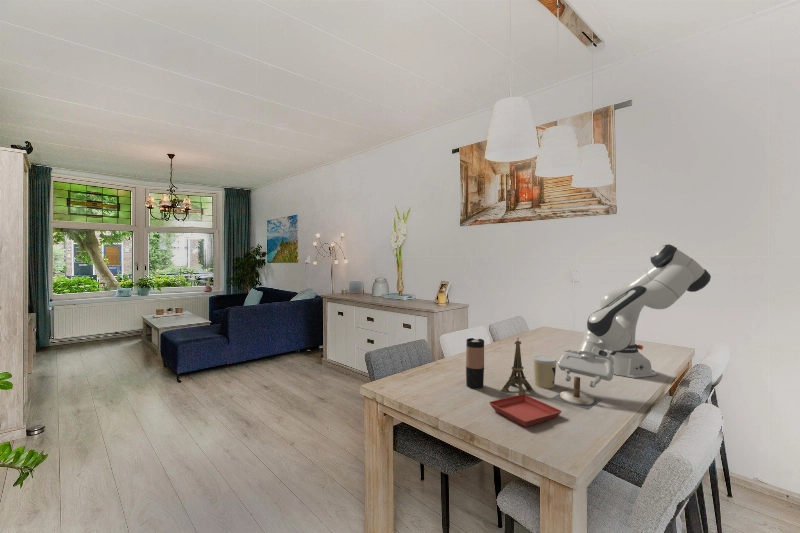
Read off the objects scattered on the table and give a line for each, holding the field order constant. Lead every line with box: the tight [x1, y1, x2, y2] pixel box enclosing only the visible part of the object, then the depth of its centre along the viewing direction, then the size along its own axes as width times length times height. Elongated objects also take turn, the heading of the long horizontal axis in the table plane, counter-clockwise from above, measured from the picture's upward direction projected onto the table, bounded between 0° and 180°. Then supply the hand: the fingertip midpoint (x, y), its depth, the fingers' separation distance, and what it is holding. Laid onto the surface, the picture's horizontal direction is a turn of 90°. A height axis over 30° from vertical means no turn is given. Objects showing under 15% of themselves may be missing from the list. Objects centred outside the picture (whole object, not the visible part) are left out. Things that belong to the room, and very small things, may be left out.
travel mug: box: [465, 337, 485, 390], centre depth 163 cm, size 8×8×20 cm
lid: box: [559, 376, 594, 405], centre depth 148 cm, size 12×12×8 cm
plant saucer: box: [488, 394, 563, 428], centre depth 136 cm, size 18×18×3 cm
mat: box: [550, 389, 603, 411], centre depth 149 cm, size 14×14×1 cm
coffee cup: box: [533, 355, 558, 389], centre depth 164 cm, size 9×9×12 cm
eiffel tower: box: [499, 338, 534, 395], centre depth 158 cm, size 11×11×25 cm
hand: (579, 383), depth 149 cm, fingers open, 8 cm apart
